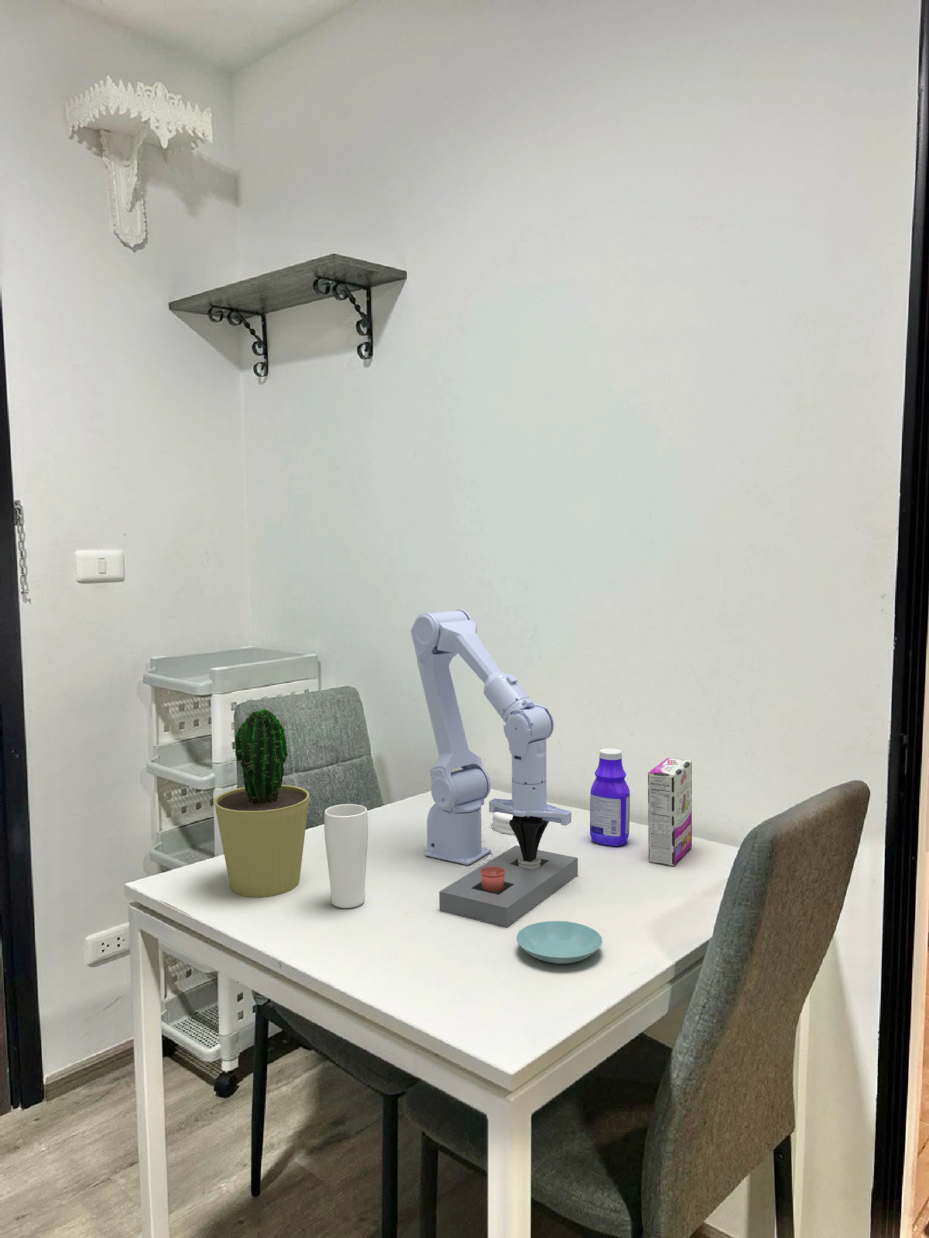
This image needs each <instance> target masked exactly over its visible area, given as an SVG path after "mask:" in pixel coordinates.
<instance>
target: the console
mask: <svg viewBox="0 0 929 1238" xmlns="http://www.w3.org/2000/svg"><path fill="white" fill-rule="evenodd" d="M521 856H522V853H521V849H520V846H519V845H514V846H512V847H510V848H509V849H507V850H505V851H504V852H502V853H501V854H499V855H497V856H496V857H494V858H492V859H490V860H489V861H487V862H486V863H484V864H482V865H481V866H479V867H478V868H476V869H474V870H472V871H471V872H469V873H468V874H465V875H464V876H462V877H461V878H459V879H457V880H456V881H454V882H453V883H451V884H449V885H447V886H445V887H444V888H443V889H440V891H439V892H438V894H439V895H438V897H439V901H438V903H439V904H438V905H439V911H441V912H446V913H449V914H453V915H457V916H461V917H465V918H468V919H473V920H476V921H480V922H483V923H488V924H492V925H496V926H500V927H504V928H509V927H510V926H512V925H513V924H514V923H515V922H516V921H518V920H520V919H521V918H522V917H524V916H525V915H526V914H527V913H529V912H530V911H532V910H533V909H534V908H535V907H537V906H538V905H540V904H541V903H542V902H544V901H545V900H546V899H547V898H549V897H550V896H553V894H554V893H555V892H557V891H558V890H560V889H561V888H562V887H564V886H565V885H566V884H567V883H569V882H570V881H572V880H573V879H574V878H576V877H577V876H579V871H578V869H579V860H578V859H579V858H578V857H577V856H576V857H575V856H570V855H566V854H560V853H555V852H550V851H545V850H542V849H541V850H540V849H538V850H537V855H536V856H537V857H539V858H540V859H541V863H540V867H539V868H538V869H536V870H534V869H529V868H525V867H520V866H519V863H518V858H519V857H521ZM488 866H497V867H501V868H503V869H504V870H505V874H504V889H503V890H501V891H498V892H488V891H484V890H482V888H481V874H480V870H481V869H482V868H484V867H488Z"/></svg>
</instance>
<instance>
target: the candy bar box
mask: <svg viewBox="0 0 929 1238" xmlns="http://www.w3.org/2000/svg"><path fill="white" fill-rule="evenodd" d="M692 764H693V760H690V759H682V758H674V757H666V758H665V759H664V760H663V761H661V762H659V764H657V765H656V766H654V767H653V768H652V769H650V770H649V771H648V772H647V803H648V805H647V806H648V807H647V811H648V815H647V817H648V823H647V824H648V828H647V829H648V842H647V843H648V862H649V863H651V864H655V865H660V866H661V865H662V866H663V865H664V866H670V867H675V866H676V865H677V864H678V863H679V862H680V861H681V860H682V858H683V857H684V856H685V855H686V854H687V853H688V852H689V850H691V849H692V847H693V843H692V842H693V841H692V840H693V837H692V836H693V835H692V834H693V823H692V822H693V818H692V817H693V807H692V805H693V804H692V803H693V800H692V799H693V795H692V794H693V791H692V790H693V789H692V788H693V786H692V783H693V782H692V781H693V779H692V778H693V770H692V768H693V765H692Z"/></svg>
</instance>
